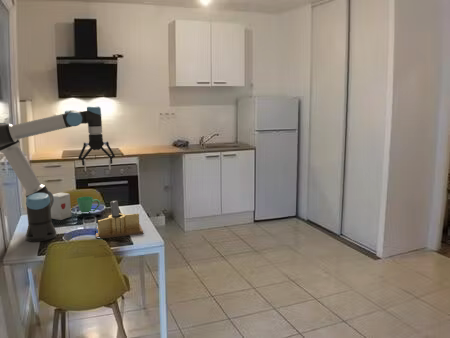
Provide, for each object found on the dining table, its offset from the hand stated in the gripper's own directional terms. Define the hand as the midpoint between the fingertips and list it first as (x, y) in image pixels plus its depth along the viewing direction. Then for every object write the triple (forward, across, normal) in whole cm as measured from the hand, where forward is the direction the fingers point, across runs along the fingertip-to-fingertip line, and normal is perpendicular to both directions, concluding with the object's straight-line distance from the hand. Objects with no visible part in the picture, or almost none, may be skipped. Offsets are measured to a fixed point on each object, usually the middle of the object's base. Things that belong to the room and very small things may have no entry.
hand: (97, 170), depth 244 cm
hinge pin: (+31, -8, +18) cm, 37 cm away
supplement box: (+33, +23, -23) cm, 46 cm away
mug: (+33, +6, -26) cm, 42 cm away
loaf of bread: (+33, -8, +18) cm, 38 cm away
